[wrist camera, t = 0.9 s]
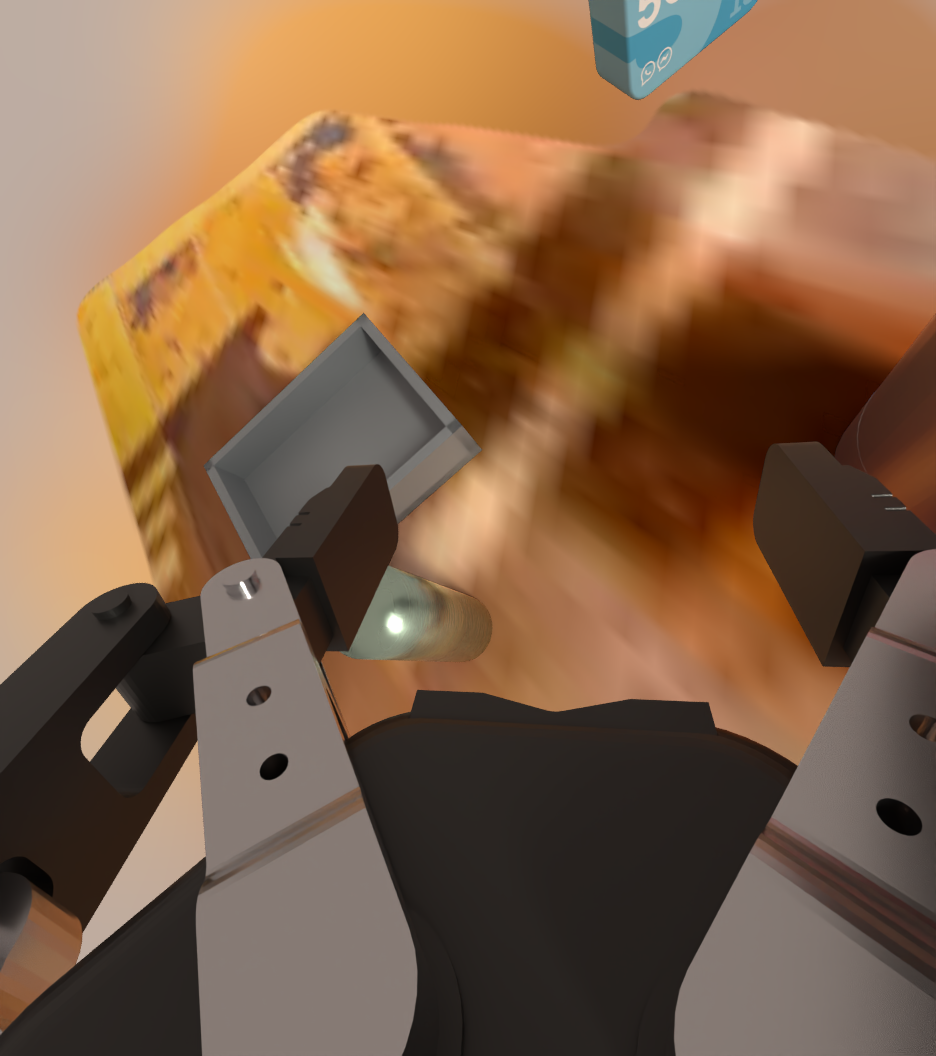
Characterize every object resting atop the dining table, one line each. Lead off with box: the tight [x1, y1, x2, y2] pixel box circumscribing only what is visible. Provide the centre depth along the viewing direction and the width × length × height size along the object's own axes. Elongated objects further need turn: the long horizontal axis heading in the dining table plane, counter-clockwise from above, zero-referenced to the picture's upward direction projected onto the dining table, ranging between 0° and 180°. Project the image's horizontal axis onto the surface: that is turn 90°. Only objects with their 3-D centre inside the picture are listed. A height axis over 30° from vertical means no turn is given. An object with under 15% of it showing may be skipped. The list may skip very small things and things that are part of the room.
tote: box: [204, 313, 482, 559], centre depth 38 cm, size 18×14×4 cm
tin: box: [340, 565, 492, 662], centre depth 28 cm, size 4×4×12 cm
